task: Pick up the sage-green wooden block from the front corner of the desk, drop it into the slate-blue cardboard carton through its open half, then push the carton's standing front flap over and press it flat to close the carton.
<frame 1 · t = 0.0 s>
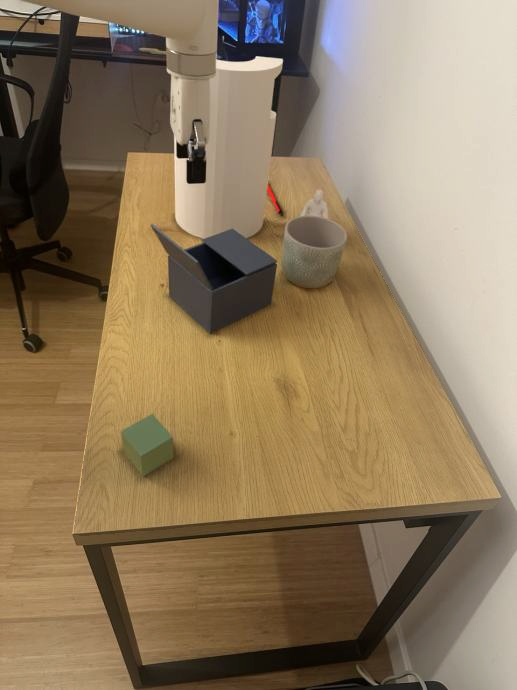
hand: (190, 169, 88), 22 cm above the table, tool pointing down, fingers open, 9 cm apart
flap: (181, 256, 83), point 13 cm above the table, hinge at 115.0°
block: (148, 455, 71), on the table
carton: (220, 300, 97), on the table
pipe: (219, 228, 116), on the table
pen: (272, 198, 130), on the table
planter: (306, 277, 106), on the table
figurine: (308, 244, 116), on the table
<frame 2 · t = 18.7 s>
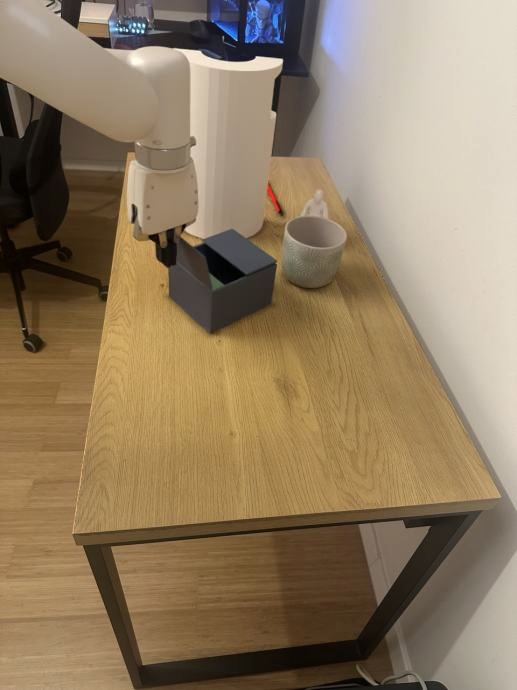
hand: (166, 262, 81), 14 cm above the table, tool pointing down, fingers closed
flap: (184, 254, 83), point 14 cm above the table, hinge at 104.3°
block: (206, 305, 95), resting on carton
everything else where it was.
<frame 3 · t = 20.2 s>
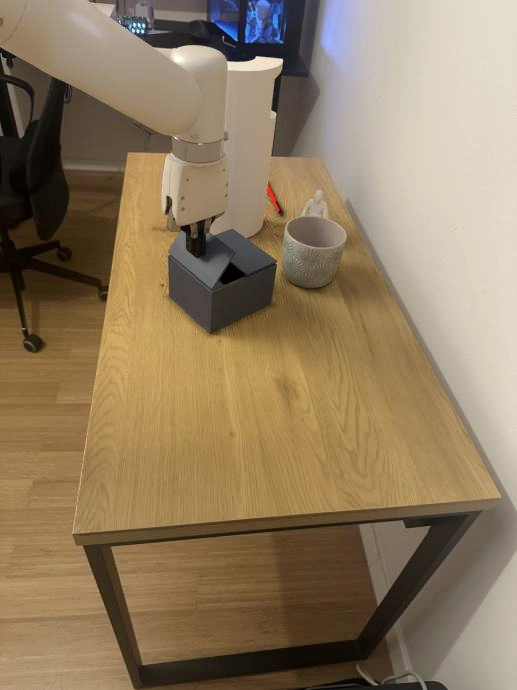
hand: (195, 252, 85), 13 cm above the table, tool pointing down, fingers closed
flap: (200, 252, 85), point 13 cm above the table, hinge at 51.8°, touching gripper
everything else where it was.
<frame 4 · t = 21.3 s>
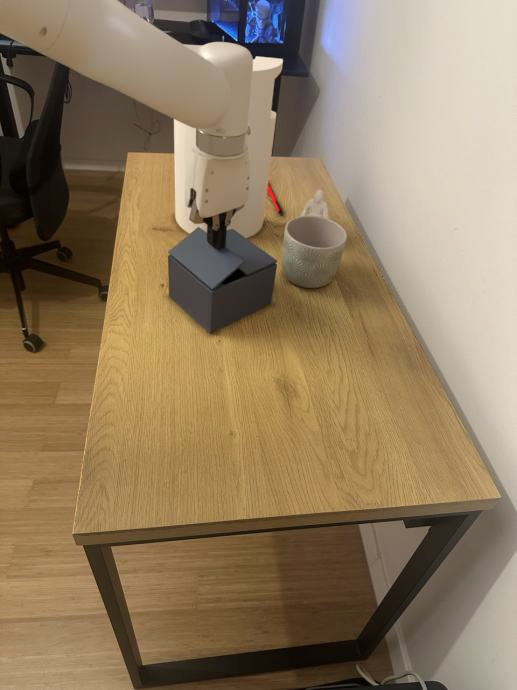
hand: (216, 244, 87), 13 cm above the table, tool pointing down, fingers closed
flap: (205, 256, 87), point 12 cm above the table, hinge at 24.1°
everything else where it was.
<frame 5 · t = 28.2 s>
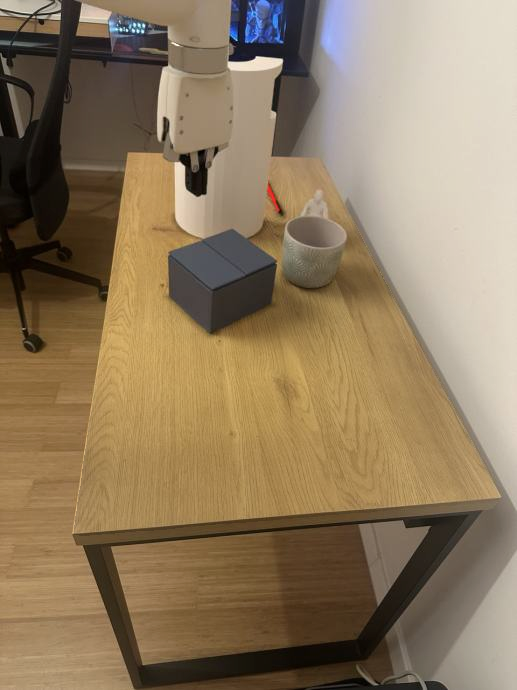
hand: (196, 192, 76), 25 cm above the table, tool pointing down, fingers closed
flap: (206, 264, 88), point 10 cm above the table, hinge at -1.2°
everything else where it was.
at the end: block inside the target area in the carton (3.5 cm from its centre), point 0.5 cm above the carton's base; flap at -1° (first picture: +115°) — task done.
